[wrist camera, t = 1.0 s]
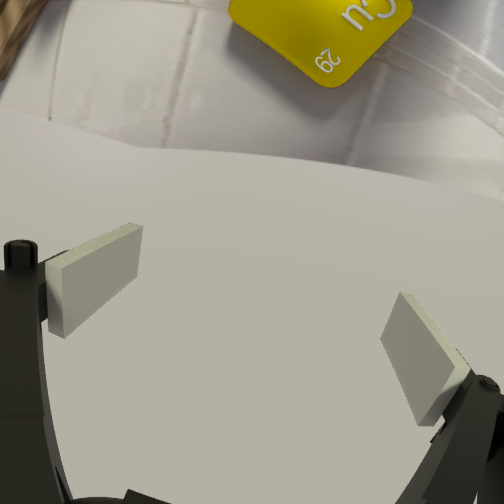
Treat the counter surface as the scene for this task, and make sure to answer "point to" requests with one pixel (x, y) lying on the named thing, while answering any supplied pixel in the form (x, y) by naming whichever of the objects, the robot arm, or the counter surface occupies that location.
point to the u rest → (15, 28)
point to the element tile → (322, 31)
